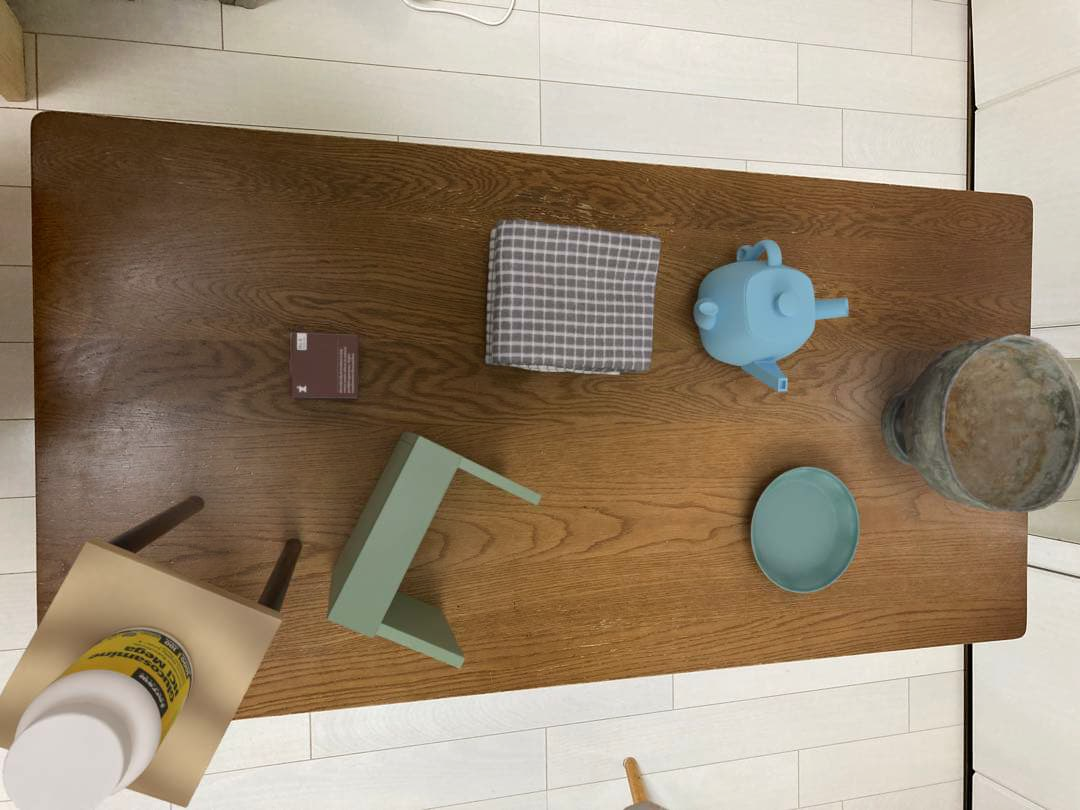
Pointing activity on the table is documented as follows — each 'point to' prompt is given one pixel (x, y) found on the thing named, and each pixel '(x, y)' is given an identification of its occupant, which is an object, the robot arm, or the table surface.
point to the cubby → (402, 549)
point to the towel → (570, 298)
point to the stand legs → (186, 509)
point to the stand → (163, 604)
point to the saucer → (805, 529)
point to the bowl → (991, 424)
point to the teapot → (759, 312)
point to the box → (324, 366)
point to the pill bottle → (98, 722)
